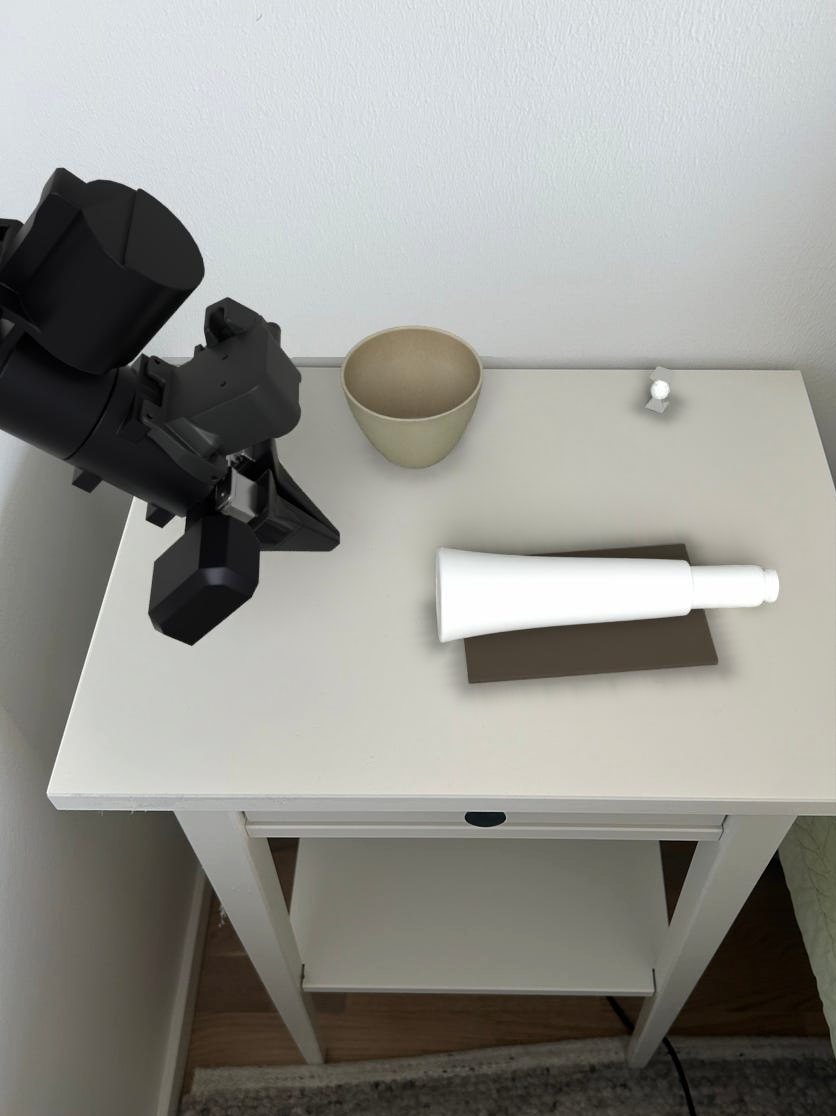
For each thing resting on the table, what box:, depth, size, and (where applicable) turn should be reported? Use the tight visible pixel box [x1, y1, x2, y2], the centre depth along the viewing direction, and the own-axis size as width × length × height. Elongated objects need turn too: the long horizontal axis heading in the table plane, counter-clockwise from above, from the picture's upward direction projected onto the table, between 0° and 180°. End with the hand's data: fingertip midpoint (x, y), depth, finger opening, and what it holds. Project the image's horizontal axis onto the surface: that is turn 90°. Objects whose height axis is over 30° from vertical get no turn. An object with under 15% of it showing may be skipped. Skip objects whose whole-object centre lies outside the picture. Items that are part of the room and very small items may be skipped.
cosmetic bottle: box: [434, 546, 780, 643], centre depth 65 cm, size 6×6×22 cm
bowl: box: [339, 325, 484, 470], centre depth 73 cm, size 10×10×7 cm
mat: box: [463, 543, 719, 685], centre depth 67 cm, size 16×10×1 cm, turn 96°
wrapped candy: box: [644, 365, 677, 414], centre depth 77 cm, size 2×2×3 cm
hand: (335, 542), depth 59 cm, fingers closed
